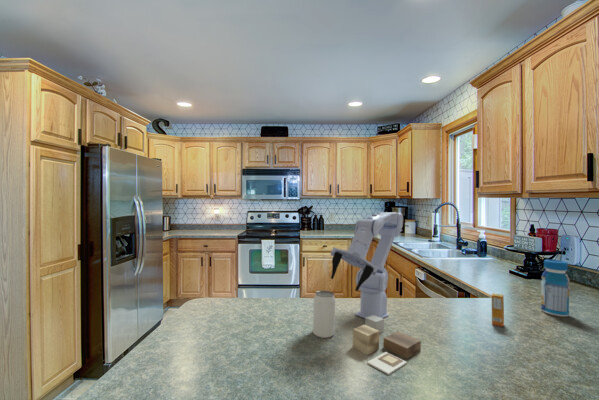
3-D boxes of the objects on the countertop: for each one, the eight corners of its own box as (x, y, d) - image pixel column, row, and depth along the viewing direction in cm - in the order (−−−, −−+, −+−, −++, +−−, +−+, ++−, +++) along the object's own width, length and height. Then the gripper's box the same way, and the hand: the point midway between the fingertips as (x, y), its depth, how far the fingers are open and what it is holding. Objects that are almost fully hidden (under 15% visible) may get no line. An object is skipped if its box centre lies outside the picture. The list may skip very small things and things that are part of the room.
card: (385, 353, 75) (385, 351, 75) (406, 363, 71) (406, 361, 71) (367, 363, 70) (367, 361, 70) (388, 375, 66) (388, 372, 66)
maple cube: (363, 342, 81) (364, 324, 81) (378, 349, 77) (379, 330, 78) (352, 347, 78) (353, 329, 78) (367, 355, 74) (368, 335, 74)
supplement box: (491, 321, 99) (492, 292, 99) (504, 324, 97) (504, 295, 97) (490, 324, 97) (491, 294, 97) (503, 327, 94) (503, 297, 95)
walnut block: (397, 341, 83) (397, 331, 83) (420, 351, 77) (420, 340, 78) (383, 348, 78) (383, 337, 78) (406, 360, 73) (407, 348, 73)
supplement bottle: (554, 317, 105) (555, 263, 106) (534, 308, 114) (535, 258, 114) (576, 317, 106) (577, 263, 106) (554, 309, 114) (556, 259, 114)
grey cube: (372, 327, 92) (373, 314, 92) (383, 331, 88) (383, 318, 88) (365, 330, 89) (365, 317, 89) (375, 335, 86) (376, 321, 86)
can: (316, 339, 82) (318, 297, 82) (310, 329, 88) (311, 290, 88) (337, 337, 83) (338, 296, 84) (329, 328, 90) (330, 289, 90)
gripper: (340, 231, 89) (323, 265, 81) (384, 250, 86) (372, 288, 77) (336, 243, 94) (320, 276, 86) (378, 262, 91) (365, 299, 83)
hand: (344, 283), depth 82 cm, fingers open, 7 cm apart
